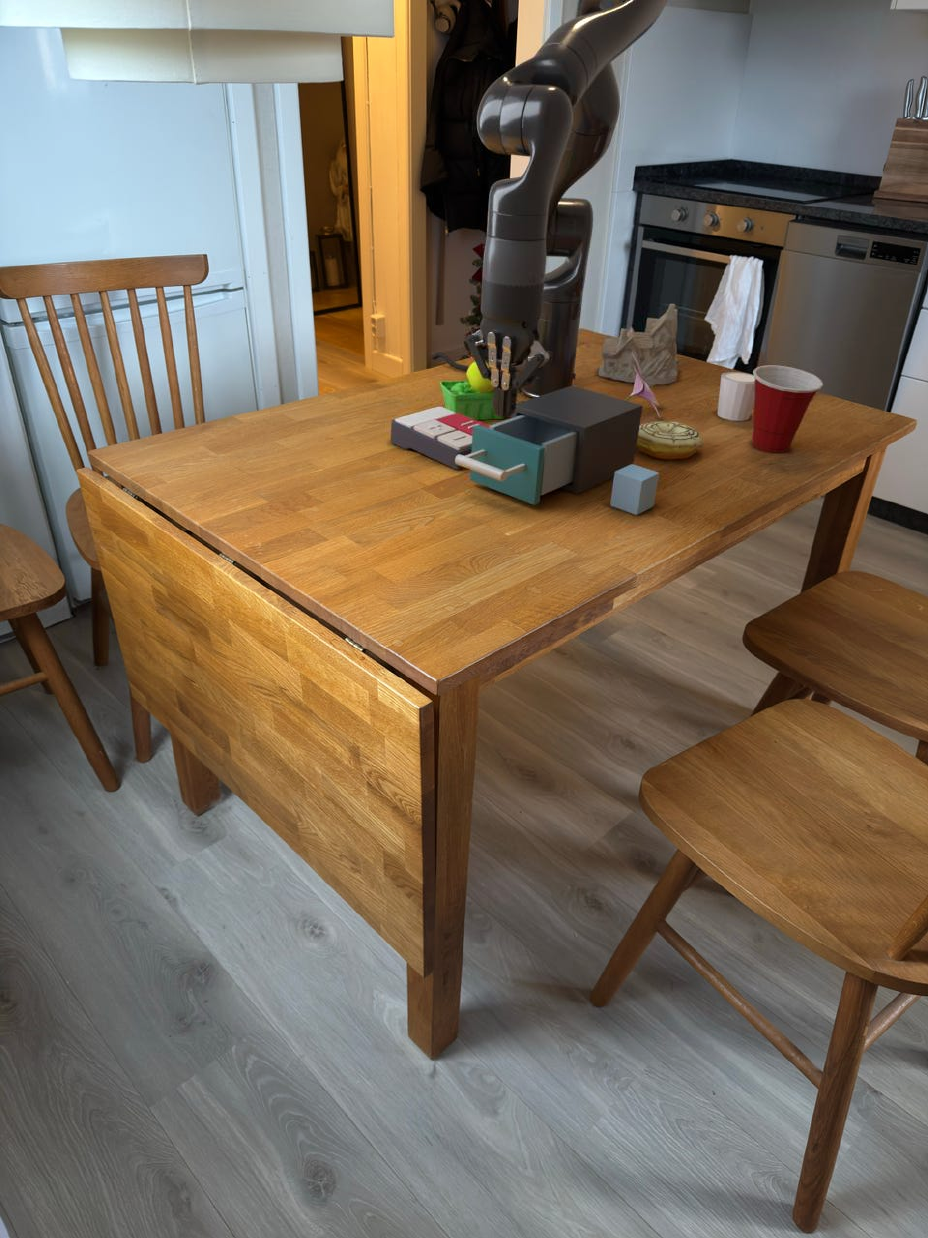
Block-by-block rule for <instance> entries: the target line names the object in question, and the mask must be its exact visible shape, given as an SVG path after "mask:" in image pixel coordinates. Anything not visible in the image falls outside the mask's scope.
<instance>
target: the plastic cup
mask: <svg viewBox="0 0 928 1238" xmlns="http://www.w3.org/2000/svg"><path fill="white" fill-rule="evenodd" d="M752 375H754V378H755V389H754V390H755V398H754V405H753V415H752V445H753V446H754V447H755V448H756V449H758V450H761V451H764V452H768V453H784V452H787V451H788V450H789V448H790V447H791V445H792V443H793V440H794V438H795V435H796V433H797V431H798V430H799V428H800V426H801V423H802V421H803V419H804V418H805V414H806V412H807V411H808V408H809V406H810V403H811V402H812V401H813V398H814V397H815V395H816V394H817V392H819V390H820V389H821V388H822V387H823V385H824V384H823V381H822V379H821V378H819V377H818V376H816V375H815V374H813V373H811V372H808V371H805V370H804V369H799V368H795V367H791V366H785V365H774V364H773V365H772V364H771V365H769V364H768V365H760V366H757V367H756V368H754V369H753V371H752Z"/></svg>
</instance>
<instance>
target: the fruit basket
mask: <svg viewBox="0 0 928 1238" xmlns="http://www.w3.org/2000/svg"><path fill="white" fill-rule="evenodd" d="M485 362H486V361H485ZM486 364H487V362H486ZM468 366H469V368H468V370H467V371H466V378H467V380H450V381H449V380H447V381H440V382H439V386H440V389H441V391H442V395H443V402H444V406H445V408H446V409H448V410H450V411H453V412H455V413H460V414H462V415H465V416H467V417H469V418H472V419H474V420H476V421H490V420H503V419H505V418H503V417H500V416H497V415H495V414H494V410H493V406H492V405H493V390H494V386H493V385H492V383H491V381H490V380H489V379H484V378H483V377H482V376H481V373H480V371H479V369H478V367H477V365H476V362H475V361H473V362H471V364H470V365H468ZM487 366H488V364H487ZM488 368H489V367H488Z"/></svg>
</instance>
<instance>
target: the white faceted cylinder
mask: <svg viewBox="0 0 928 1238" xmlns="http://www.w3.org/2000/svg"><path fill="white" fill-rule="evenodd" d="M720 376H721V377H720V383H719V385H720V386H719V395H718V404H717V416H718V417H719V418H722V419H725V420H727V421H734V422H745V421H748V420H749V419H750V417H751V413H752V410H753V409H754V398H755V390H754V389H755V378H754V374H750V373H746V372H738V371H731V372H730V371H729V372H724V373H722V374H721V375H720Z"/></svg>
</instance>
